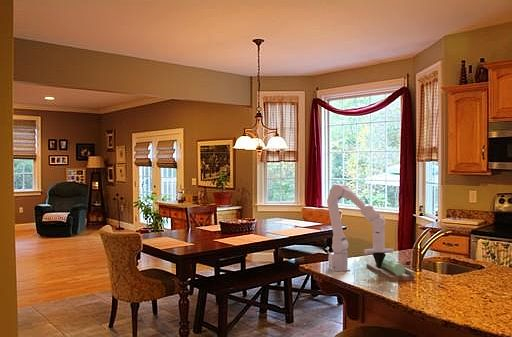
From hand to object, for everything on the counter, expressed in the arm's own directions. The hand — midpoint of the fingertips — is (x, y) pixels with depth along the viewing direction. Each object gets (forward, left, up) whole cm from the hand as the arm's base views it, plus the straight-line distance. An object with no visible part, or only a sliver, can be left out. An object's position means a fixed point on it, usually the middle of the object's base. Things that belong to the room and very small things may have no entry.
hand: (378, 267), depth 222 cm
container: (+5, 0, -1) cm, 5 cm away
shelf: (+5, 0, -3) cm, 6 cm away
